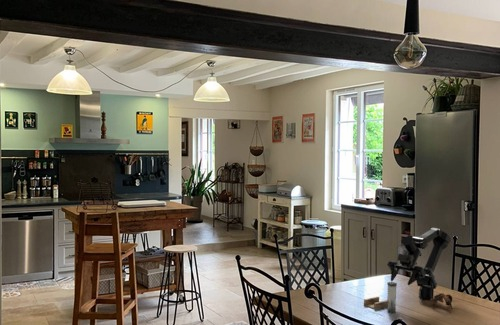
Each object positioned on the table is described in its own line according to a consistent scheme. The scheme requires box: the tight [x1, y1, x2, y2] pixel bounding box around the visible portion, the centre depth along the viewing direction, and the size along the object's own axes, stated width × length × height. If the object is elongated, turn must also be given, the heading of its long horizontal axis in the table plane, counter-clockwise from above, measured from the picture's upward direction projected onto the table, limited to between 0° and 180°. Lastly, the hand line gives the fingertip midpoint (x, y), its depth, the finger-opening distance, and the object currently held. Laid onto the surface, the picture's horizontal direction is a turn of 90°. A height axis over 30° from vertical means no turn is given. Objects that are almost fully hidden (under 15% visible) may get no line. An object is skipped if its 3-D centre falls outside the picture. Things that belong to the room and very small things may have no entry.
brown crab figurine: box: [430, 292, 453, 312], centre depth 250 cm, size 12×10×8 cm
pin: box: [386, 281, 398, 314], centre depth 241 cm, size 4×4×14 cm
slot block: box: [363, 296, 387, 310], centre depth 250 cm, size 10×8×3 cm
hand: (399, 282), depth 246 cm, fingers open, 9 cm apart
